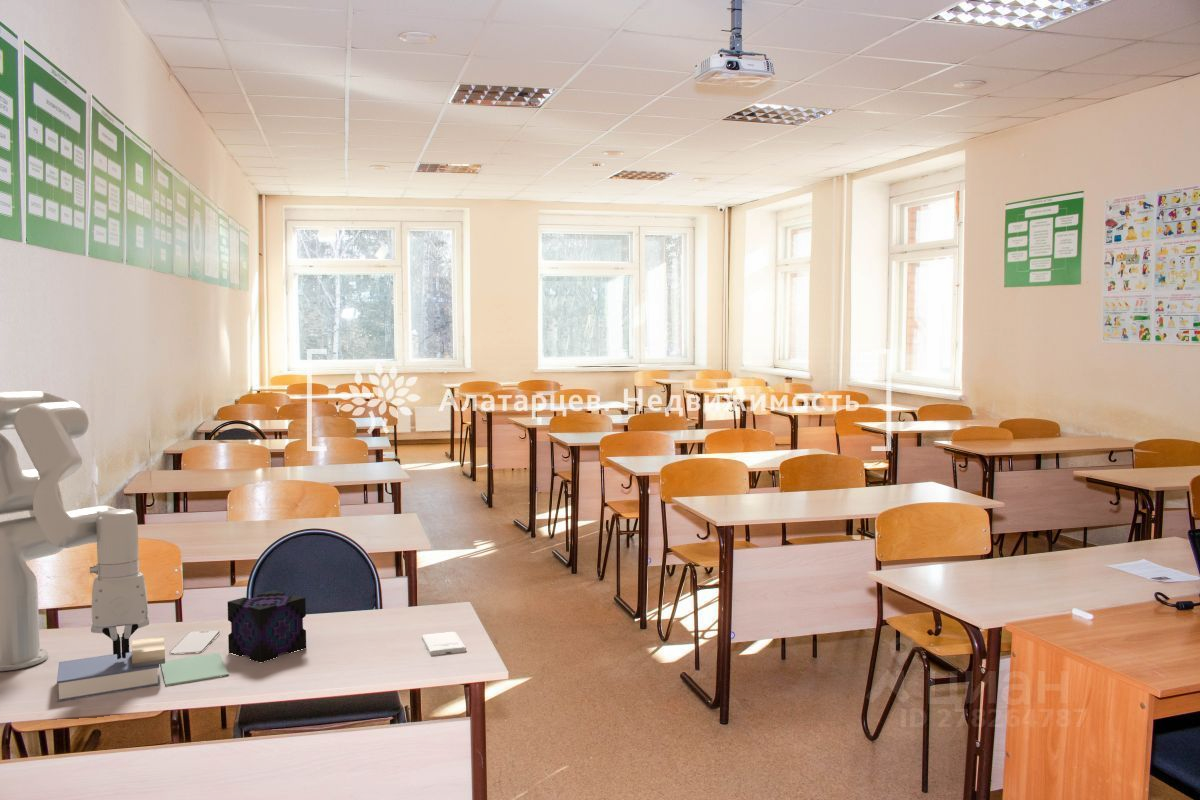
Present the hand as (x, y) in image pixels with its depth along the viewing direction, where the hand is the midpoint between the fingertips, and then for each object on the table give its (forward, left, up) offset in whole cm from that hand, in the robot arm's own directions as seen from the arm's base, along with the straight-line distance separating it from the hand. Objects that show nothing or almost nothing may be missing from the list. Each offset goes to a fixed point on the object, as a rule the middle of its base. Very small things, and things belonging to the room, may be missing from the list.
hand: (121, 656), depth 186 cm
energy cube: (-5, +30, -6) cm, 31 cm away
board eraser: (+1, +5, 0) cm, 5 cm away
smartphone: (-19, +16, -6) cm, 26 cm away
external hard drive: (+12, +66, -6) cm, 67 cm away
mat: (0, +14, -5) cm, 15 cm away
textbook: (0, -2, -5) cm, 6 cm away
